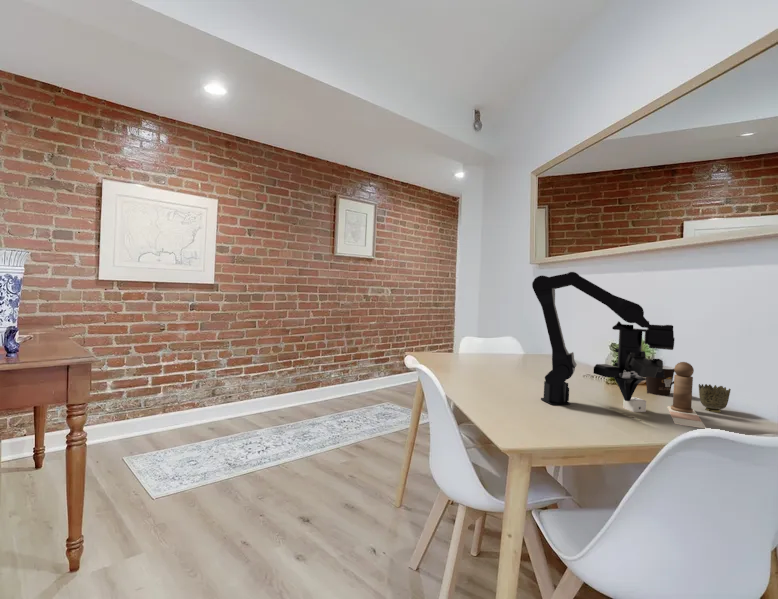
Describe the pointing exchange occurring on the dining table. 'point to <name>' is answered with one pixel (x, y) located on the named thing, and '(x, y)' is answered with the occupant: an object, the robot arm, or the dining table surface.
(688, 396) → the pawn
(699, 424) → the board
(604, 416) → the dining table surface
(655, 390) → the coffee mug
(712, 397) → the cup
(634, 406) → the die
